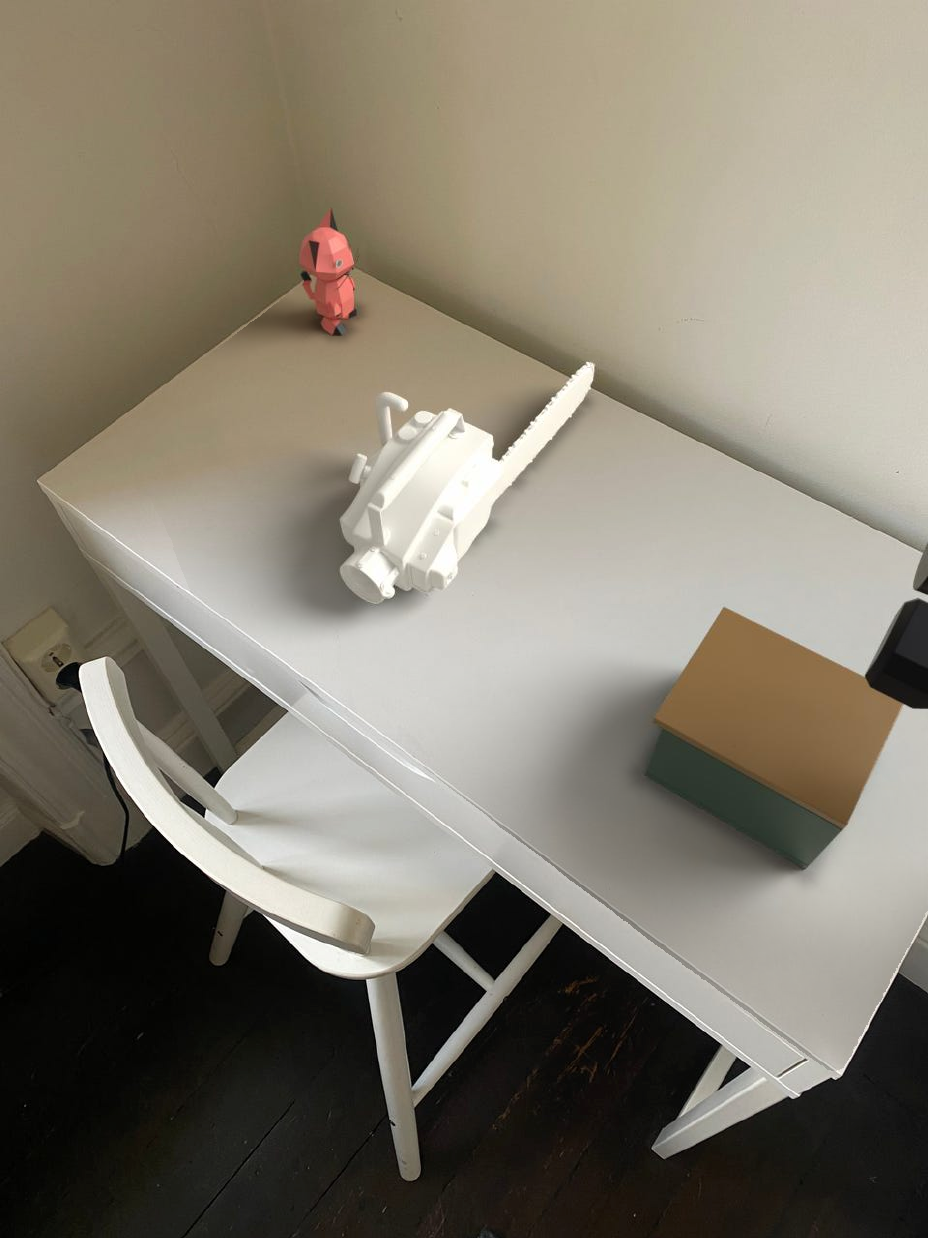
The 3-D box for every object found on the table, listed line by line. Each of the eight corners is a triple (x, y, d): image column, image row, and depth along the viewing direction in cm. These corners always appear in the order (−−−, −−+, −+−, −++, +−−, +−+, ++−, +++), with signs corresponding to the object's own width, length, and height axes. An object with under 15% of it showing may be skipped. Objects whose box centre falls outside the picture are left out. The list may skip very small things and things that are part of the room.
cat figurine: (352, 345, 101) (338, 249, 91) (295, 333, 102) (275, 237, 92) (374, 305, 105) (363, 209, 95) (319, 294, 106) (302, 198, 96)
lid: (651, 722, 66) (653, 717, 65) (721, 611, 71) (724, 606, 71) (843, 830, 61) (846, 825, 61) (902, 702, 67) (907, 697, 66)
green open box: (643, 775, 73) (661, 728, 66) (708, 670, 78) (731, 616, 71) (805, 869, 68) (842, 830, 61) (862, 752, 74) (902, 703, 67)
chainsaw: (615, 403, 96) (632, 303, 85) (419, 638, 80) (411, 551, 70) (494, 349, 101) (496, 248, 90) (287, 561, 85) (261, 468, 74)
